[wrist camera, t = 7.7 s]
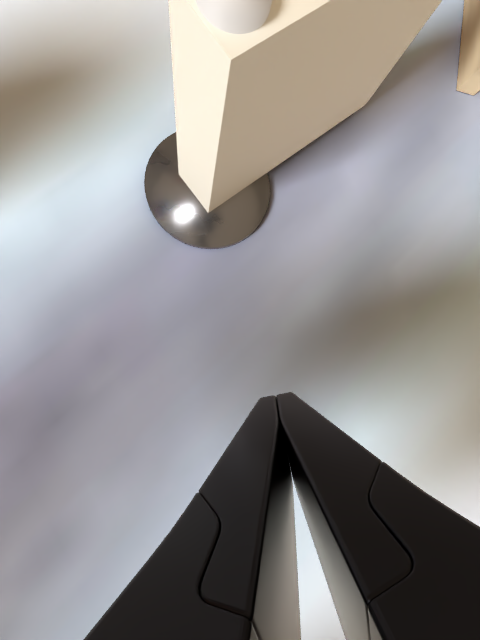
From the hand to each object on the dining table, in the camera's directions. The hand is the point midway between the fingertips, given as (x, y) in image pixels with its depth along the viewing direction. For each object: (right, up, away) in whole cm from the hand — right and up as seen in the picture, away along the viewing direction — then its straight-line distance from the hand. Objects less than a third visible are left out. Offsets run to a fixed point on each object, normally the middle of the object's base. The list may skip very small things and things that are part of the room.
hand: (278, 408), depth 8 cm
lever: (+1, +12, +9) cm, 15 cm away
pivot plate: (-3, +9, +9) cm, 13 cm away
